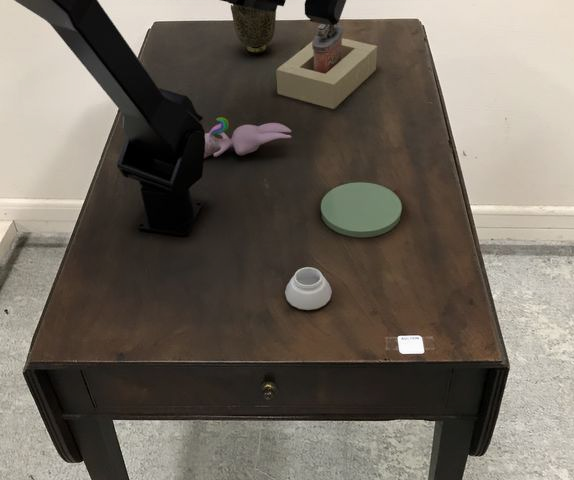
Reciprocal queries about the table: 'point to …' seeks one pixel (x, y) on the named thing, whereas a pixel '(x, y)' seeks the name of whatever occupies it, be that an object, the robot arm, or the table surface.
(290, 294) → the white jar
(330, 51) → the lighter
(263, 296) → the table surface
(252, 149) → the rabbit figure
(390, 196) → the plate
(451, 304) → the table surface
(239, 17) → the cup
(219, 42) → the table surface
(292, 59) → the hollow beige frame
